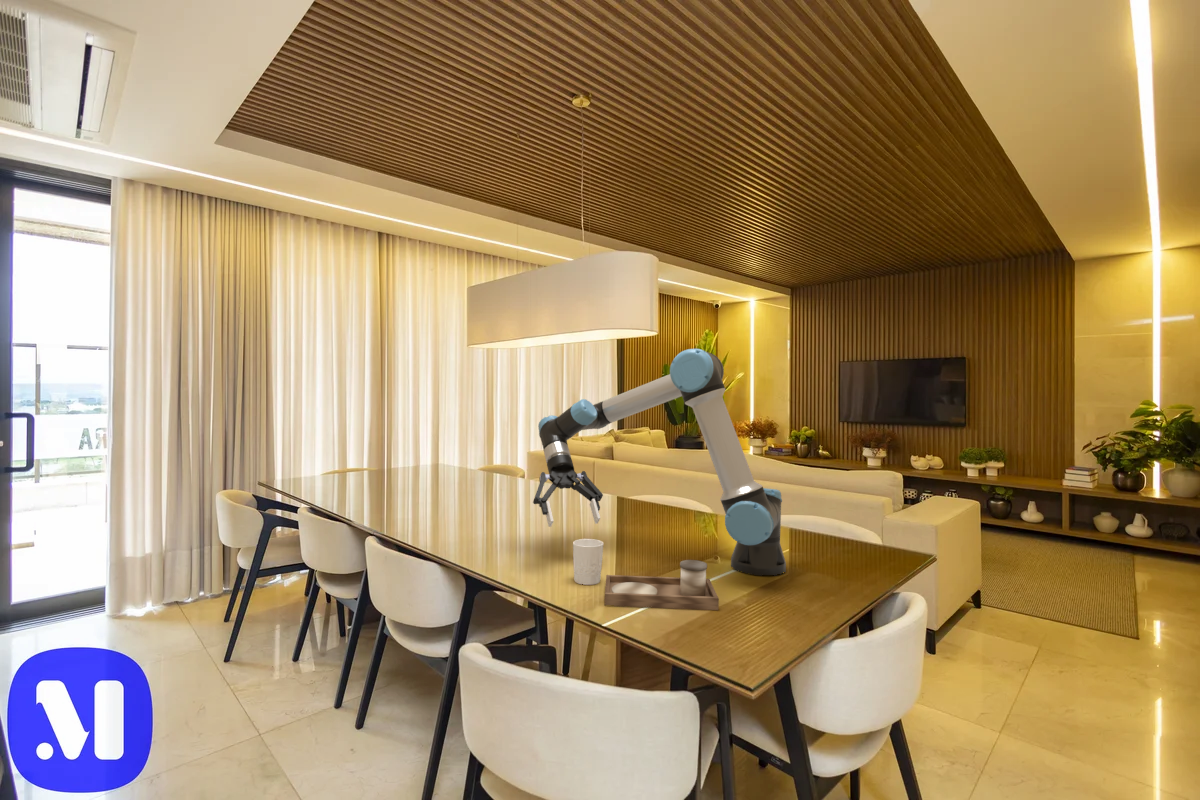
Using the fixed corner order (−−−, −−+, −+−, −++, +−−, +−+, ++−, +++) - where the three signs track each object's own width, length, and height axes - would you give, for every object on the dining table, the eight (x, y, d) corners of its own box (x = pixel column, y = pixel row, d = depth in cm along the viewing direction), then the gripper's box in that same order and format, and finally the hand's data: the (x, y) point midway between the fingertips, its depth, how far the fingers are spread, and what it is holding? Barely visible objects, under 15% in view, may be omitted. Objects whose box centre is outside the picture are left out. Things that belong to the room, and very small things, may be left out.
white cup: (598, 587, 144) (600, 547, 144) (568, 584, 146) (569, 545, 146) (604, 577, 152) (606, 540, 152) (576, 575, 154) (577, 537, 154)
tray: (708, 589, 145) (709, 556, 145) (718, 610, 131) (719, 573, 131) (606, 585, 146) (607, 552, 146) (604, 605, 132) (605, 569, 132)
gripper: (594, 467, 178) (612, 527, 164) (515, 469, 168) (527, 532, 155) (601, 452, 173) (620, 512, 159) (520, 453, 163) (533, 517, 150)
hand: (574, 522), depth 157 cm, fingers open, 13 cm apart
